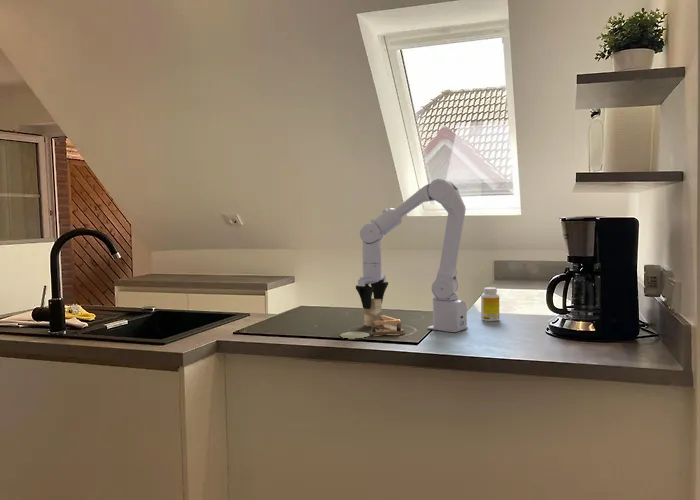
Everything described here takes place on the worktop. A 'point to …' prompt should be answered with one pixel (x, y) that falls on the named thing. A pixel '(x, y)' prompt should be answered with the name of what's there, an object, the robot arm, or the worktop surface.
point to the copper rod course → (386, 326)
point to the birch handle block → (373, 312)
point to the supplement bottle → (490, 304)
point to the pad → (354, 335)
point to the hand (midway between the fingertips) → (372, 306)
